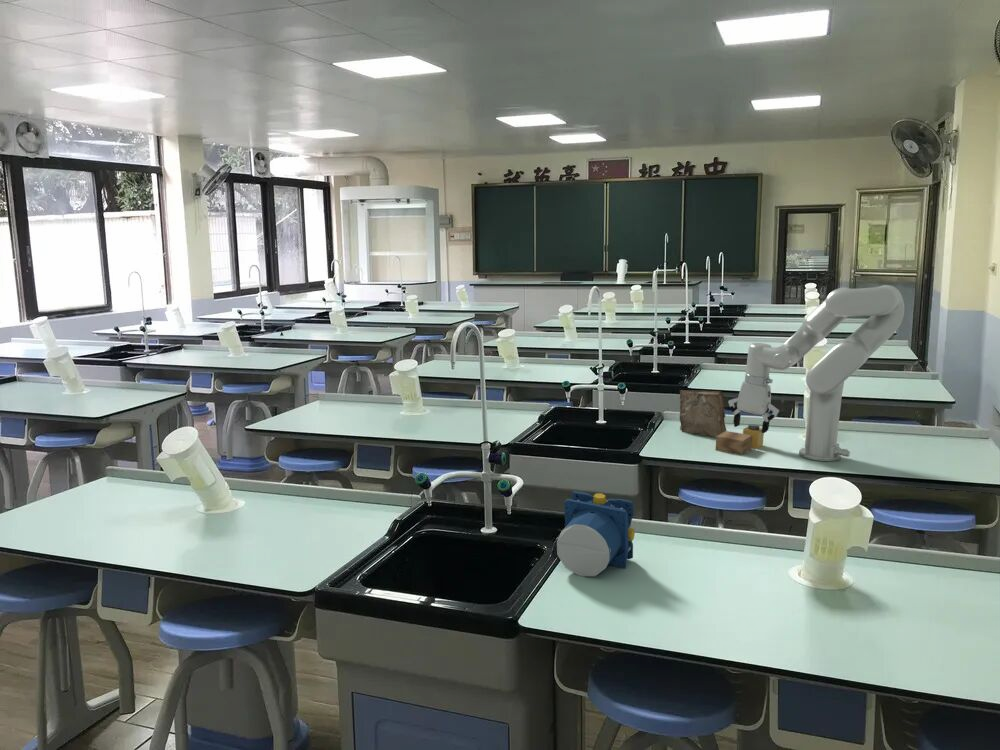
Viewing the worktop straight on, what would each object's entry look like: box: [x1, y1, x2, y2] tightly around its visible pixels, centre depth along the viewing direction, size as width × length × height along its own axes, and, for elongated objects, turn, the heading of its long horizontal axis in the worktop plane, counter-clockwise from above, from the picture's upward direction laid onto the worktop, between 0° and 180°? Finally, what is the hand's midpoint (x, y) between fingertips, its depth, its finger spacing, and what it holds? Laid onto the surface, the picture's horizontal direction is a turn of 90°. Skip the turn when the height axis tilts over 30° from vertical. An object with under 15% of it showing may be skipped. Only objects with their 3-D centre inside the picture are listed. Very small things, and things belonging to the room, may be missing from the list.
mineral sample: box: [679, 389, 727, 438], centre depth 283 cm, size 18×4×16 cm, turn 59°
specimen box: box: [715, 430, 752, 456], centre depth 265 cm, size 9×9×5 cm
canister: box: [742, 424, 765, 449], centre depth 270 cm, size 5×5×7 cm
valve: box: [556, 490, 636, 577], centre depth 171 cm, size 13×15×15 cm
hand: (750, 429), depth 270 cm, fingers open, 9 cm apart
